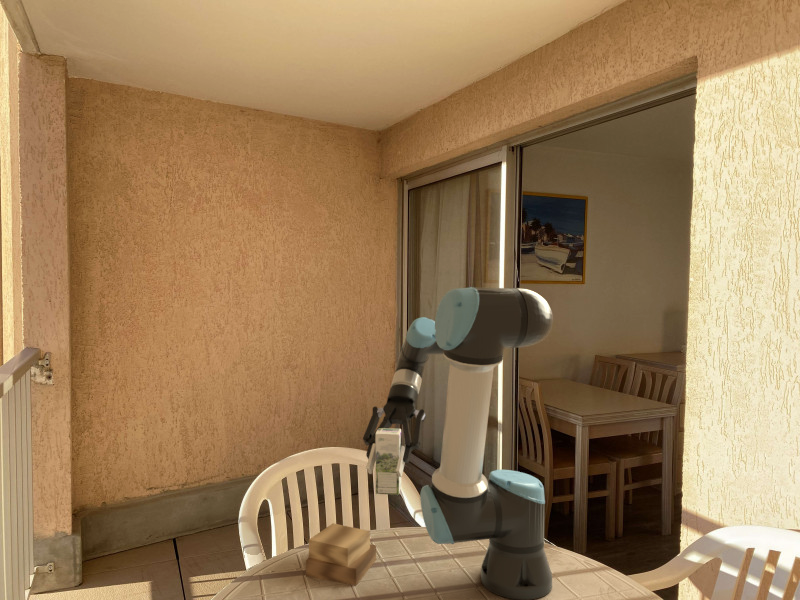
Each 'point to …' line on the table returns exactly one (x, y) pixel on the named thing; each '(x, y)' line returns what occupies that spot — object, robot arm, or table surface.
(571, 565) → the table surface
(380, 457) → the syrup box
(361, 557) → the walnut block
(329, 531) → the oak block
